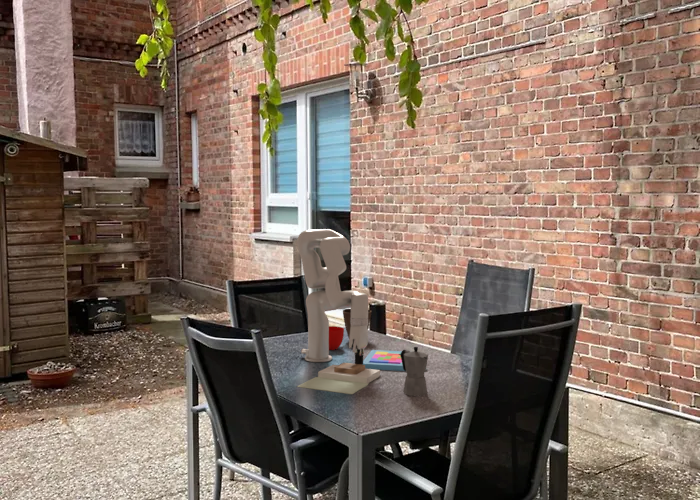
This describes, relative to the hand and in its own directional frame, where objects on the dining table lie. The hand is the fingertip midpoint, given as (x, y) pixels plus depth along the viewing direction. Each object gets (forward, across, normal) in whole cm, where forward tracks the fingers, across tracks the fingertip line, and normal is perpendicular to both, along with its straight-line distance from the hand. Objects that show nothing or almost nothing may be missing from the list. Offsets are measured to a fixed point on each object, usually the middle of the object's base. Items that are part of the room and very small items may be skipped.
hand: (359, 363), depth 301 cm
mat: (+3, +25, 0) cm, 25 cm away
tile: (+1, +9, 0) cm, 9 cm away
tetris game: (+4, -22, +9) cm, 24 cm away
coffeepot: (+4, +20, +32) cm, 38 cm away
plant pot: (+4, -57, -27) cm, 63 cm away
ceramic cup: (+4, -37, -31) cm, 49 cm away
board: (+3, +10, 0) cm, 10 cm away
